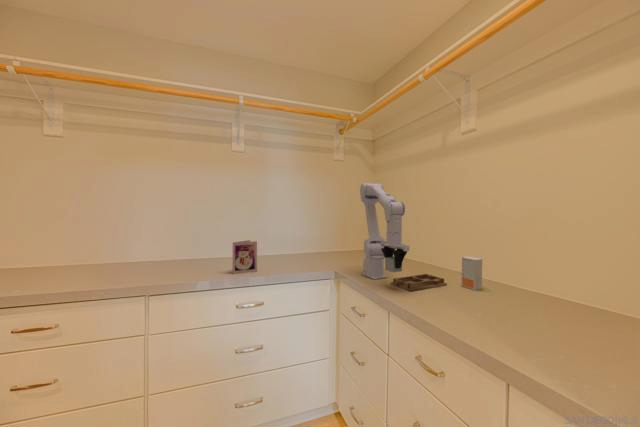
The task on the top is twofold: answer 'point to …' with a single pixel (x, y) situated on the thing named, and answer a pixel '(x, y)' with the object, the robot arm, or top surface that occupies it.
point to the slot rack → (418, 282)
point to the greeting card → (244, 257)
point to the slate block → (391, 265)
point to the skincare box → (472, 273)
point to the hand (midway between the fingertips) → (393, 266)
